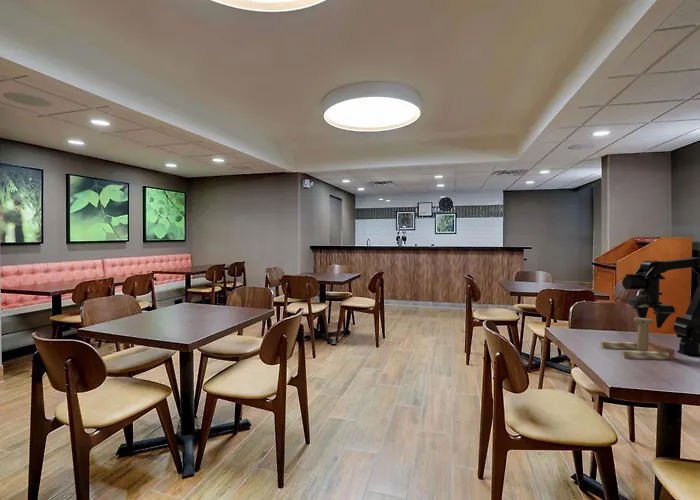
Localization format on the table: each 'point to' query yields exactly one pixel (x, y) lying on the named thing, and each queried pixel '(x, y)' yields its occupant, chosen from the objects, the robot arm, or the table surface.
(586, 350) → the table surface
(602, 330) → the table surface
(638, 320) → the handle
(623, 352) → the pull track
